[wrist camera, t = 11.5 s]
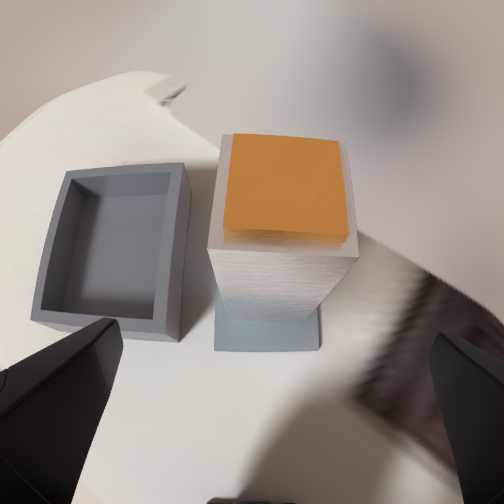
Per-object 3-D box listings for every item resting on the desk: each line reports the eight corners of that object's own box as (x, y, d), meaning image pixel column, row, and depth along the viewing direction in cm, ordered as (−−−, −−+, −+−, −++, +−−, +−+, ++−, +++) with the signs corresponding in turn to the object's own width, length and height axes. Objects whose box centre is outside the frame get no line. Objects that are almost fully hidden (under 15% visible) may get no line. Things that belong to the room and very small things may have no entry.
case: (179, 342, 21) (164, 333, 18) (59, 330, 21) (30, 319, 17) (191, 192, 26) (183, 162, 22) (85, 196, 26) (66, 171, 22)
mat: (317, 350, 21) (319, 349, 21) (215, 351, 21) (214, 350, 21) (311, 232, 25) (312, 229, 24) (219, 230, 25) (219, 228, 24)
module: (302, 323, 21) (365, 250, 10) (228, 319, 21) (204, 241, 10) (302, 255, 23) (349, 133, 12) (233, 251, 23) (221, 123, 12)
